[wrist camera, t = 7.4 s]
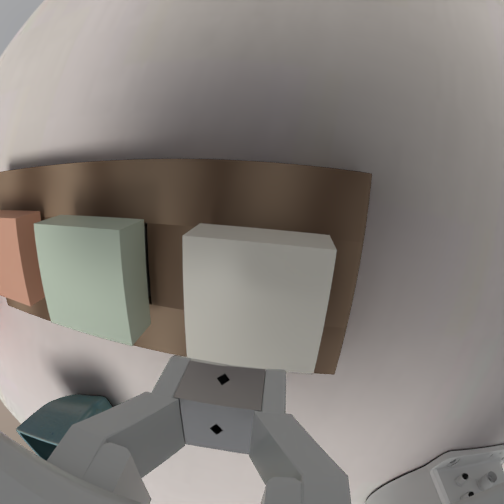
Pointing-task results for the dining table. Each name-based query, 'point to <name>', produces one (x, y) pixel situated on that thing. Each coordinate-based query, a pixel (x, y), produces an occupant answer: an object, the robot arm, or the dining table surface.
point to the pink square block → (19, 257)
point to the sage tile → (96, 274)
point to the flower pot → (58, 421)
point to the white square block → (256, 295)
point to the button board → (205, 221)
